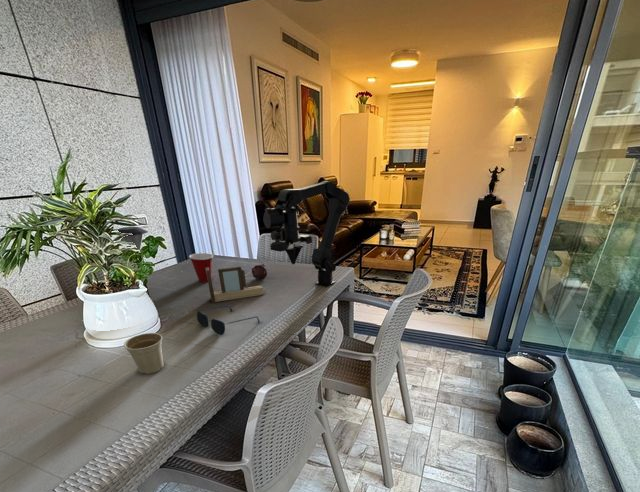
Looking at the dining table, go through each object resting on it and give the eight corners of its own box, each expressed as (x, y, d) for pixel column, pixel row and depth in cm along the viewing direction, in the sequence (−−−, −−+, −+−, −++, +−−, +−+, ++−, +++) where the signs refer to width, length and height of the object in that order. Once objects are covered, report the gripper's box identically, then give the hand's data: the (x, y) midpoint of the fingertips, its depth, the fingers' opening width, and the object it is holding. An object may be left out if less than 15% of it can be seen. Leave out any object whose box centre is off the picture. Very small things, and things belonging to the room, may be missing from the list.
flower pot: (146, 381, 91) (137, 352, 87) (125, 371, 96) (116, 344, 92) (176, 365, 98) (169, 337, 94) (155, 356, 103) (148, 330, 99)
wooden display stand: (261, 291, 152) (257, 261, 146) (263, 294, 148) (260, 264, 142) (211, 298, 146) (205, 267, 139) (212, 302, 141) (206, 270, 135)
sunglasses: (196, 323, 123) (195, 309, 121) (231, 315, 133) (231, 303, 132) (224, 337, 113) (223, 322, 111) (260, 328, 123) (260, 314, 121)
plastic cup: (214, 283, 164) (209, 257, 158) (191, 283, 164) (185, 258, 158) (220, 276, 173) (216, 252, 168) (198, 277, 173) (193, 252, 168)
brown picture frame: (246, 291, 148) (242, 265, 143) (247, 293, 146) (243, 267, 141) (222, 294, 145) (217, 268, 140) (222, 296, 143) (218, 270, 138)
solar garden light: (170, 300, 145) (152, 224, 131) (159, 312, 134) (138, 230, 120) (141, 301, 145) (119, 225, 130) (127, 313, 134) (102, 231, 120)
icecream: (264, 270, 158) (272, 264, 171) (248, 266, 158) (257, 260, 171) (262, 284, 161) (269, 277, 174) (246, 280, 161) (255, 274, 174)
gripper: (292, 219, 148) (294, 256, 156) (258, 226, 136) (263, 266, 143) (311, 221, 142) (313, 260, 149) (278, 229, 129) (282, 270, 137)
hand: (293, 264), depth 145 cm, fingers closed
